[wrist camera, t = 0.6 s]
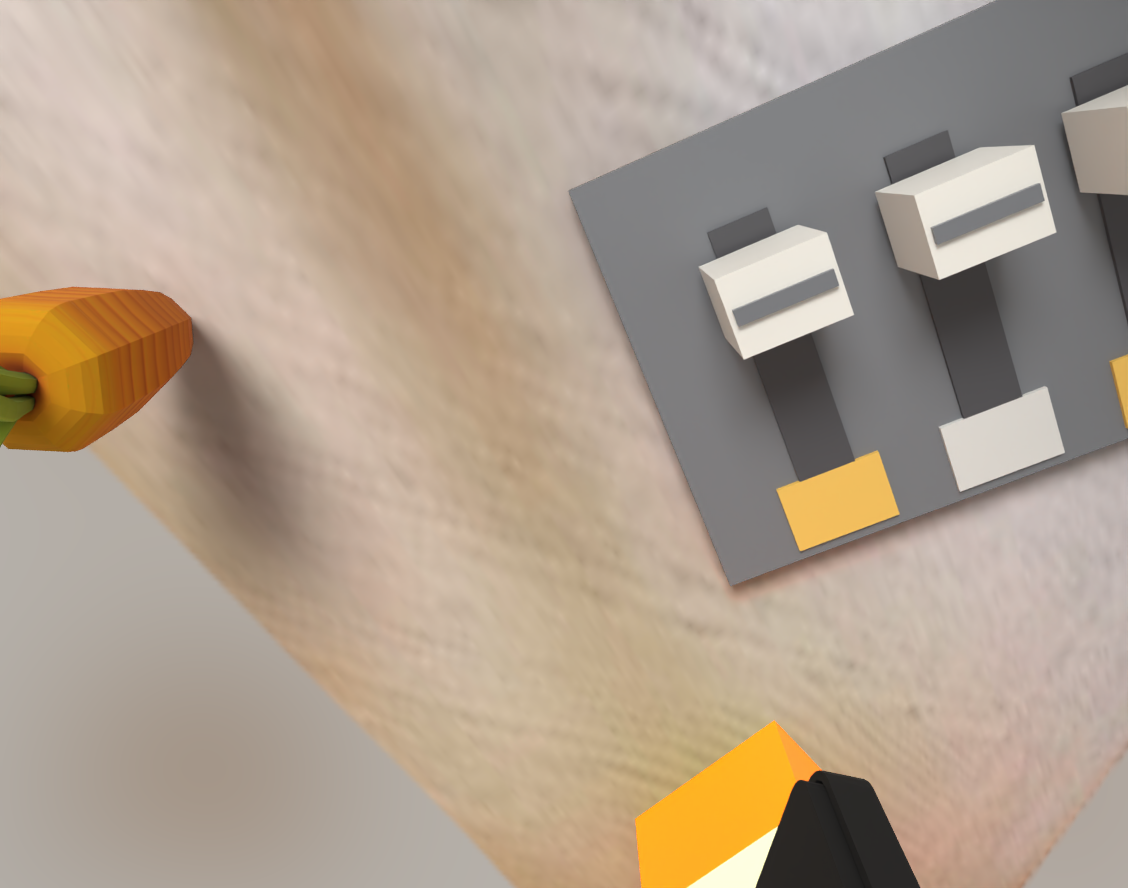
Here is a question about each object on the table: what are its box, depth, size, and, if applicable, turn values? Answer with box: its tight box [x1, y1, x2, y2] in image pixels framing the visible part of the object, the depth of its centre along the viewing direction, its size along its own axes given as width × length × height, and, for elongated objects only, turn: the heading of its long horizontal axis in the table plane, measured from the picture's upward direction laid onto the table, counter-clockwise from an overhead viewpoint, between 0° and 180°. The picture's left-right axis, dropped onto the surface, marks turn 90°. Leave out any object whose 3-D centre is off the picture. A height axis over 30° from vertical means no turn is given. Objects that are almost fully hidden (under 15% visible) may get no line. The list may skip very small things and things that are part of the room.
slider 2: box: [875, 145, 1056, 280], centre depth 31 cm, size 4×3×4 cm
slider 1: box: [699, 225, 854, 359], centre depth 32 cm, size 4×3×4 cm
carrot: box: [0, 287, 193, 452], centre depth 29 cm, size 5×5×15 cm
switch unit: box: [569, 0, 1128, 586], centre depth 35 cm, size 25×18×1 cm
